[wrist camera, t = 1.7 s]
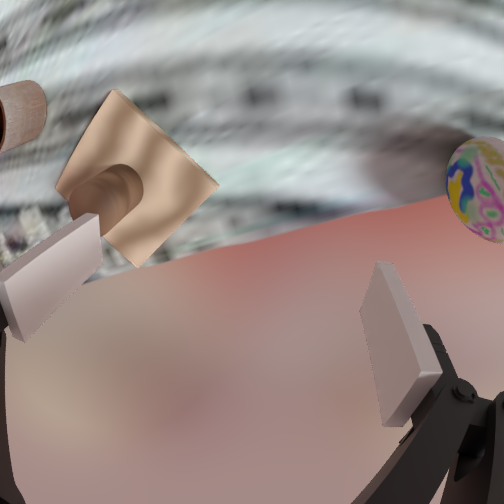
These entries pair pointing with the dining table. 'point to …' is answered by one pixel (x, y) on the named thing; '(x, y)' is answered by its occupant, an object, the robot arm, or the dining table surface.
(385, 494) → the robot arm
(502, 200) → the decorative egg
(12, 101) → the planter
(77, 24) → the dining table surface
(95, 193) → the square base plate
